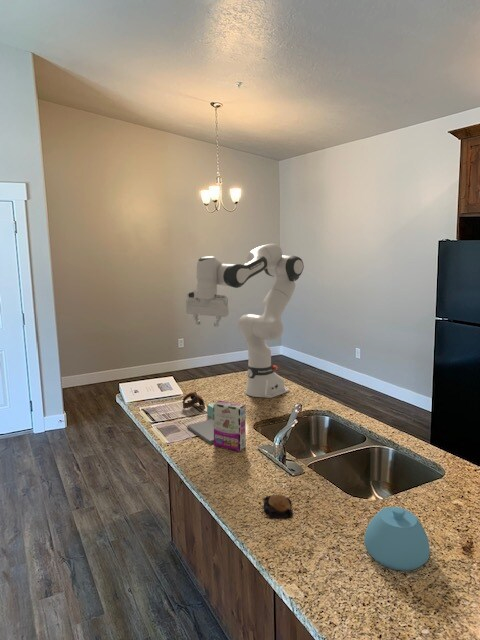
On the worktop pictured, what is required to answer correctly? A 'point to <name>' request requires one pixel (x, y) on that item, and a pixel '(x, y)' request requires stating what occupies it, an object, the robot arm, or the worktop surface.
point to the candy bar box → (229, 425)
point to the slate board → (204, 430)
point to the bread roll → (277, 507)
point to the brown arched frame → (193, 400)
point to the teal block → (210, 410)
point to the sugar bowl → (397, 539)
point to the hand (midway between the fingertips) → (207, 325)
